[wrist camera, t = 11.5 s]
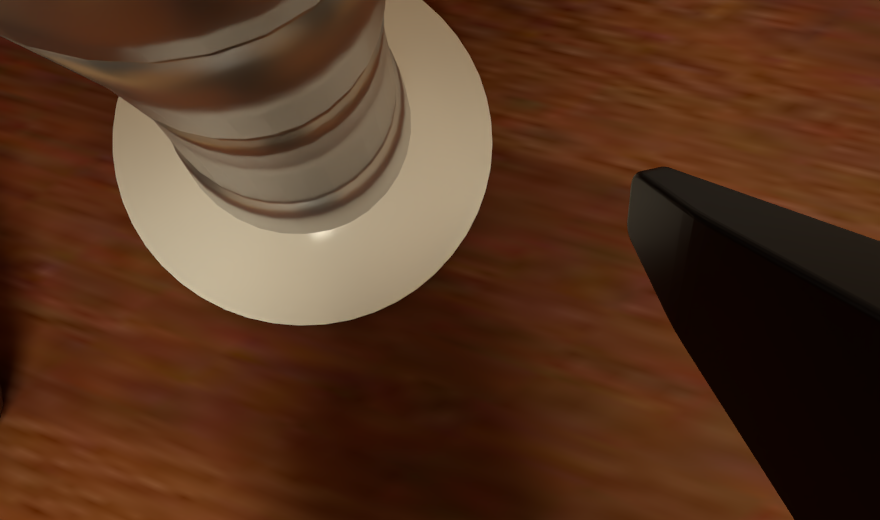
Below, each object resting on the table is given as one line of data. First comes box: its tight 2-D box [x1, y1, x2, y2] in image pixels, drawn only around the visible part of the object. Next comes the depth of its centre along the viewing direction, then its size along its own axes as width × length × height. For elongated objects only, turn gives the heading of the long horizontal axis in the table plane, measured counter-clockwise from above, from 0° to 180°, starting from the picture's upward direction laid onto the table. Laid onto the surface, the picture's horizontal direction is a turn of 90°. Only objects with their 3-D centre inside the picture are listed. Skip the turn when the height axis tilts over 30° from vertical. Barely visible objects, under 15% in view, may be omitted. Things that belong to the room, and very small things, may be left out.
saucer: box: [113, 0, 492, 325], centre depth 21 cm, size 12×12×1 cm
